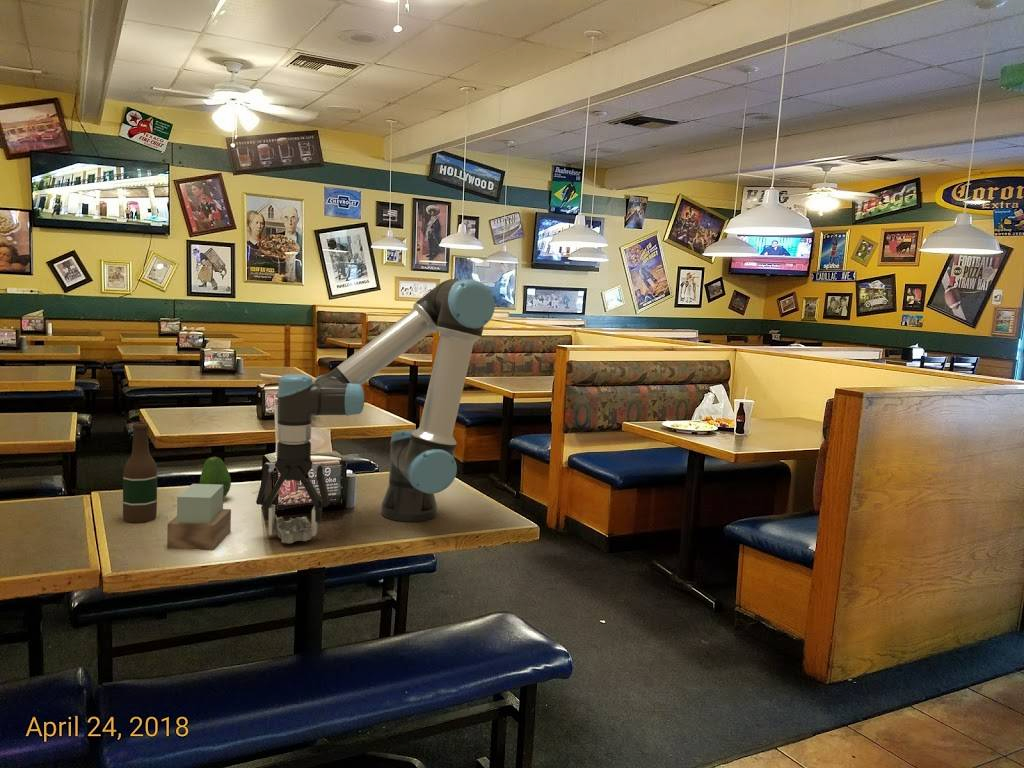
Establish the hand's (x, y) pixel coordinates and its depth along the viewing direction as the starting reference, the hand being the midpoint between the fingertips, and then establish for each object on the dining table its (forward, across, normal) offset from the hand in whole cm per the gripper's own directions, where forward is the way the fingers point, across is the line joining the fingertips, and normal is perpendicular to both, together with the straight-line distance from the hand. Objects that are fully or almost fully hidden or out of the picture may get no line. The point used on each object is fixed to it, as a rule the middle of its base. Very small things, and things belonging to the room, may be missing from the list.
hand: (292, 533), depth 170 cm
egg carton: (+1, 0, 0) cm, 1 cm away
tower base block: (+1, +20, +3) cm, 21 cm away
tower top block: (-5, +20, +3) cm, 21 cm away
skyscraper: (+2, +10, -36) cm, 37 cm away
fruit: (+1, +27, -28) cm, 39 cm away
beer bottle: (+1, +39, -10) cm, 41 cm away
